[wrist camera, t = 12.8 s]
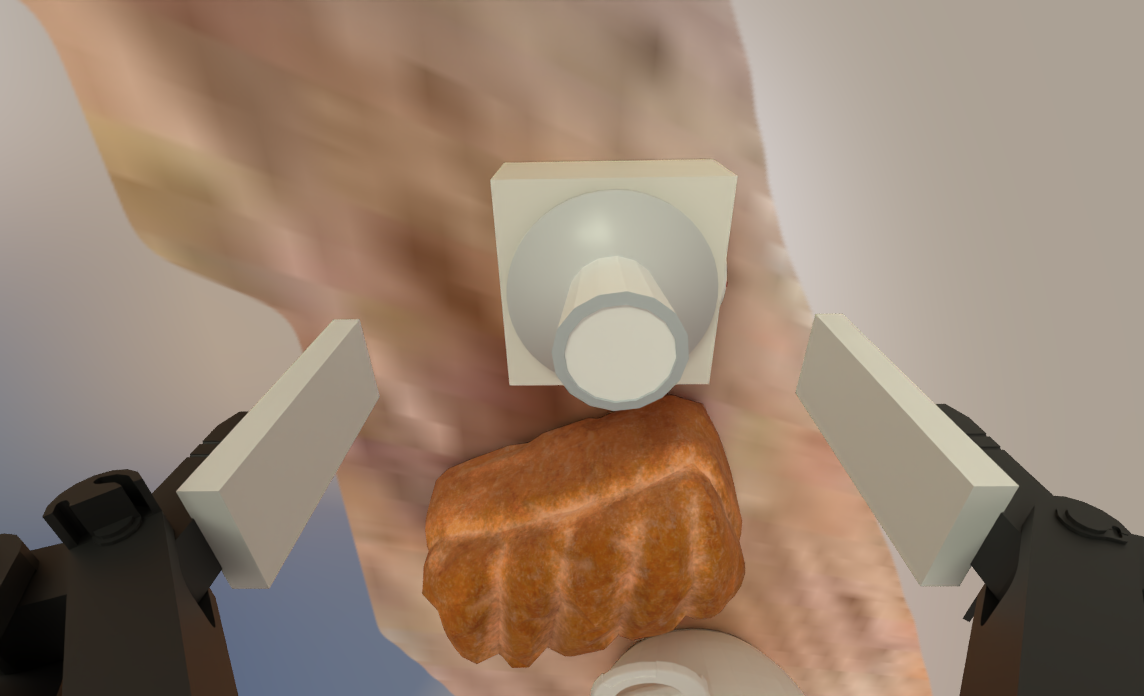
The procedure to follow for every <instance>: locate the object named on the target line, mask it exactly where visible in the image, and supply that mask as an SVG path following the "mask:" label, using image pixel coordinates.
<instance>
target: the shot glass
mask: <svg viewBox="0 0 1144 696" xmlns="http://www.w3.org/2000/svg"><path fill="white" fill-rule="evenodd" d="M551 352H552V357H553V363H554V368H555V373H556V375H557V377H558V378H559V379H560V381H561V382H562V384H563V385H564V386H565V388H566V389H567V390H568V392H569V393H570V394H572V395H573V396H575V397H576V398H578V399H580V400H581V401H583V402H584V403H586V404H588V405H589V406H593V407H598V408H602V409H607V410H612V411H619V410H628V409H637V408H641V407H643V406H645V405H648V404H650V403H652V402H654V401H656V400H658V399H660V398H662V397H664V396H665V395H666V394H667V393H668V392H669V391H670V390H671V389H672V388H673V387H674V386H675V385H676V384H677V383H678V382H679V381H680V379H681V376H682V374H683V371H684V369H685V367H686V364H687V362H688V360H689V348H688V334H687V332H686V331H685V329H684V327H683V325H682V323H681V322H680V320H679V318H678V316H677V314H676V313H675V311H674V310H673V308H672V306H671V305H670V303H669V302H668V300H667V299H666V297H665V295H664V294H663V292H662V291H661V289H660V287H659V286H658V284H657V283H656V281H655V280H654V278H653V276H652V275H651V273H650V272H649V270H647V269H646V268H645V267H643V266H642V265H640V264H639V263H638V262H636V261H635V260H632V259H628V258H624V257H620V256H612V257H605V258H598V259H597V260H595V261H593V262H591V263H589V264H588V265H586V266H584V267H582V269H581V270H580V271H579V272H578V274H577V275H576V276H575V278H574V279H573V280H572V282H571V285H570V288H569V292H568V295H567V298H566V302H565V305H564V308H563V312H562V315H561V318H560V322H559V325H558V328H557V332H556V336H555V340H554V344H553V348H552V351H551Z"/></svg>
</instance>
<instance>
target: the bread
mask: <svg viewBox="0 0 1144 696" xmlns="http://www.w3.org/2000/svg"><path fill="white" fill-rule="evenodd" d="M741 528H742V518H741V514H740V510H739V506H738V501H737V497H736V492H735V488H734V483H733V479H732V474H731V471H730V468H729V464H728V461H727V458H726V455H725V452H724V449H723V446H722V443H721V441H720V438H719V435H718V433H717V431H716V429H715V427H714V425H713V423H712V421H711V419H710V417H709V415H708V414H707V412H706V410H705V408H704V406H703V404H701V403H697V402H694V401H690V400H686V399H683V398H680V397H677V396H674V395H665V396H664V397H662V398H660V399H658V400H656V401H654V402H652V403H650V404H648V405H645V406H643V407H641V408H637V409H628V410H619V411H615V412H612V413H610V414H608V415H606V416H604V417H601V418H599V419H594V418H587V419H584V420H581V421H578V422H575V423H572V424H569V425H566V426H563V427H560V428H557V429H554V430H551V431H548V432H545V433H543V434H541V435H540V436H538V437H537V438H535V439H534V440H532V441H531V442H529V443H525V444H517V445H510V446H506V447H504V448H501V449H498V450H496V451H493V452H490V453H487V454H485V455H482V456H479V457H476V458H474V459H471V460H468V461H466V462H463V463H461V464H459V465H456V466H454V467H451V468H449V469H448V470H447V471H446V472H444V473H443V474H442V475H441V476H440V477H439V478H438V479H437V480H436V483H435V487H434V490H433V494H432V497H431V501H430V504H429V508H428V512H427V517H426V527H425V532H426V540H427V547H428V550H429V552H428V555H427V558H426V561H425V564H424V573H423V590H422V594H423V595H424V596H425V597H426V598H427V600H428V601H429V602H430V603H431V604H432V605H433V606H434V607H435V608H436V609H437V610H438V612H439V615H440V618H441V621H442V625H443V628H444V630H445V632H446V635H447V637H448V638H449V640H450V641H451V643H452V644H453V646H454V648H455V649H456V650H457V651H458V652H459V654H460V655H461V656H462V657H464V658H466V659H468V660H470V661H472V662H474V663H476V664H478V663H480V662H482V661H484V660H486V659H488V658H490V657H492V656H494V655H496V654H500V655H501V656H502V657H503V658H504V659H505V660H506V661H507V662H508V664H509V665H510V666H511V667H512V668H521V667H529V666H530V665H531V664H532V663H533V662H534V661H535V660H536V659H537V658H538V657H539V656H540V654H541V653H542V652H543V651H544V650H545V649H546V648H547V647H548V648H550V649H552V650H554V651H556V652H558V653H560V654H562V655H564V656H576V655H581V654H585V653H590V652H595V651H599V650H604V649H605V648H606V647H607V646H608V645H609V644H610V643H611V642H612V641H613V640H614V639H615V638H616V637H617V636H618V635H620V636H622V637H625V638H628V639H630V640H635V639H639V638H645V637H652V636H657V635H661V634H665V633H668V632H670V631H673V630H674V629H675V627H676V626H677V625H678V624H679V623H680V621H681V620H682V619H683V618H684V617H685V615H686V616H689V617H691V618H694V619H703V618H712V617H713V616H715V615H717V614H718V613H720V612H721V611H722V609H723V608H724V607H725V605H726V604H727V603H728V602H729V600H731V599H732V598H733V597H734V596H735V594H736V593H737V591H738V590H739V588H740V587H741V584H742V581H743V578H744V575H745V562H744V558H743V554H742V550H741V546H740V542H739V540H740V536H741Z"/></svg>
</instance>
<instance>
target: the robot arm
mask: <svg viewBox="0 0 1144 696" xmlns="http://www.w3.org/2000/svg"><path fill="white" fill-rule="evenodd" d="M795 393H796V394H797V396H798V398H799V399H800V401H801V402H802V404H803V405H804V407H805V408H806V410H807V412H808V413H809V415H810V416H811V418H812V419H813V421H814V422H815V424H816V425H817V427H818V429H819V430H820V432H821V433H822V435H823V436H824V438H825V439H826V441H827V442H828V444H829V446H830V447H831V449H832V450H833V452H834V453H835V455H836V456H837V458H838V459H839V461H840V463H841V464H842V466H843V467H844V469H845V470H846V472H847V473H848V475H849V477H850V478H851V480H852V481H853V483H854V484H855V486H856V487H857V489H858V490H859V492H860V494H861V495H862V497H863V498H864V500H865V501H866V503H867V504H868V506H869V507H870V509H871V511H872V512H873V514H874V515H875V517H876V518H877V520H878V521H879V523H880V524H881V526H882V528H883V529H884V531H885V532H886V534H887V535H888V537H889V538H890V540H891V541H892V543H893V544H894V546H895V548H896V549H897V551H898V552H899V554H900V555H901V557H902V558H903V560H904V562H905V563H906V565H907V566H908V568H909V569H910V571H911V572H912V574H913V576H914V577H915V579H916V580H917V582H918V583H919V585H920V586H960V584H961V583H962V581H963V579H964V577H965V576H966V574H967V573H968V571H969V569H970V568H971V566H972V567H973V568H974V570H975V571H976V572H977V573H978V575H979V576H980V577H981V579H982V580H983V581H984V583H985V584H984V586H983V587H982V589H981V590H980V592H979V594H978V595H977V597H976V598H975V600H974V602H973V603H972V605H971V606H970V608H969V609H968V611H967V612H966V614H965V616H964V618H963V619H965V620H967V621H969V622H970V621H971V619H972V618H973V616H974V619H973V624H972V630H971V635H970V640H969V646H968V652H967V658H966V663H965V668H964V674H963V679H962V685H961V690H960V696H1144V537H1143V536H1138V535H1134V534H1131V533H1130V532H1129V531H1128V530H1127V529H1126V528H1125V527H1124V526H1123V525H1122V524H1121V523H1120V522H1119V521H1117V520H1116V519H1114V518H1113V517H1111V516H1110V515H1108V514H1107V513H1105V512H1104V511H1102V510H1100V509H1098V508H1096V507H1093V506H1091V505H1089V504H1087V503H1085V502H1082V501H1079V500H1075V499H1071V498H1068V497H1063V496H1062V497H1061V496H1053V495H1052V494H1051V493H1050V492H1049V491H1048V490H1047V489H1045V487H1043V486H1042V485H1041V484H1040V483H1039V482H1038V481H1037V480H1036V479H1035V478H1034V477H1033V476H1032V475H1030V474H1029V473H1028V472H1027V471H1026V470H1025V469H1024V468H1023V467H1022V466H1020V464H1019V463H1018V462H1016V461H1015V460H1014V459H1013V458H1012V457H1011V456H1010V455H1009V454H1008V453H1007V452H1006V451H1005V450H1001V449H1000V446H999V445H998V444H997V443H996V442H995V441H994V440H993V439H992V438H991V437H987V436H986V433H985V432H984V431H983V430H982V429H981V428H979V426H978V425H977V424H975V423H974V422H973V421H972V420H971V419H970V418H969V417H967V416H965V415H964V414H962V413H960V412H958V411H957V410H955V409H953V408H951V407H950V406H948V405H946V404H935V403H933V402H932V401H931V400H930V399H929V398H928V397H927V396H926V395H925V394H924V393H923V392H922V391H921V390H920V389H919V388H918V387H917V386H916V385H915V384H914V383H913V382H912V381H911V380H910V379H909V378H908V377H907V376H906V375H905V374H904V373H903V372H901V370H900V369H898V367H896V365H895V364H894V363H892V362H891V361H890V360H889V359H888V358H887V357H886V356H885V355H884V354H883V353H882V352H881V351H880V350H879V349H878V348H877V347H876V346H875V345H874V344H873V343H872V342H871V341H870V340H869V339H868V338H867V337H866V336H865V335H864V334H863V333H862V332H861V331H860V330H859V329H858V328H857V327H856V326H855V325H853V324H852V323H851V322H850V321H849V320H848V319H847V318H846V317H845V316H844V315H843V314H815V318H814V321H813V325H812V329H811V333H810V337H809V341H808V345H807V349H806V353H805V357H804V361H803V365H802V369H801V373H800V377H799V381H798V385H797V388H796V392H795ZM379 397H380V396H379V392H378V388H377V384H376V381H375V377H374V373H373V369H372V365H371V361H370V357H369V354H368V350H367V346H366V342H365V338H364V334H363V330H362V327H361V323H360V319H341V320H333V321H332V322H331V323H330V324H329V325H328V326H327V327H326V328H325V329H324V330H323V332H322V333H321V334H320V335H319V336H318V337H317V338H316V339H315V340H314V341H313V342H312V343H311V345H310V346H309V347H308V348H307V349H306V350H305V351H304V352H303V353H302V354H301V356H300V357H299V358H298V359H297V360H296V361H295V362H294V363H293V364H292V365H291V367H289V369H288V370H287V371H286V372H285V373H284V374H283V375H282V376H281V377H280V378H279V379H278V381H277V382H276V383H275V384H274V385H273V386H272V387H271V388H270V390H268V392H267V393H266V394H265V395H264V396H263V397H262V398H261V399H260V400H259V401H258V402H257V404H256V405H255V406H254V407H253V408H252V409H251V410H250V411H249V412H238V413H237V414H235V415H234V416H232V417H231V418H229V419H227V420H226V421H224V422H222V423H221V424H219V425H218V426H217V427H216V428H215V429H214V430H213V431H212V432H211V433H210V434H209V435H208V436H207V437H206V438H205V439H204V441H203V444H199V446H198V447H197V448H196V449H195V450H194V451H193V452H192V453H191V454H190V457H187V458H186V459H185V460H184V461H183V462H182V463H181V464H180V465H179V466H178V467H177V468H176V469H175V470H174V471H173V472H172V473H171V474H170V476H168V478H167V479H166V480H165V481H164V482H163V483H162V484H161V485H160V486H159V487H158V488H157V489H156V490H155V491H154V492H153V493H151V492H150V490H149V489H148V487H147V485H146V484H145V482H144V481H143V479H142V477H141V476H140V474H139V473H138V472H136V471H132V470H128V469H125V470H112V471H109V472H105V473H102V474H98V475H95V476H92V477H90V478H88V479H86V480H84V481H81V482H79V483H77V484H75V485H73V486H72V487H70V488H69V489H67V490H66V491H64V492H63V493H61V494H60V495H58V496H57V497H56V498H55V499H54V500H53V501H52V502H51V503H50V504H49V505H48V506H47V508H46V510H45V512H44V515H43V518H44V519H45V521H46V522H47V523H48V524H49V526H50V527H51V528H52V529H53V531H54V532H55V533H56V534H57V536H58V537H59V538H60V539H61V541H62V542H63V543H61V544H57V545H53V546H48V547H44V548H40V549H36V550H31V551H30V550H29V549H28V548H27V547H26V545H25V544H24V543H23V542H22V541H21V540H20V538H19V537H18V536H17V535H12V534H0V696H238V692H237V689H236V684H235V680H234V675H233V671H232V667H231V663H230V658H229V654H228V650H227V645H226V641H225V636H224V632H223V628H222V624H221V620H220V615H219V611H218V606H217V603H216V598H215V596H214V594H213V593H212V591H211V589H210V588H209V587H210V586H211V584H212V583H213V581H214V580H215V579H216V577H217V576H218V574H219V573H220V571H221V570H222V572H223V574H224V576H225V577H226V579H227V581H228V583H229V584H230V586H231V588H232V589H244V588H245V589H252V588H254V589H256V588H258V589H262V588H263V589H266V588H268V589H269V588H270V586H271V584H272V583H273V581H274V579H275V577H276V576H277V574H278V572H279V570H280V569H281V567H282V565H283V564H284V562H285V560H286V558H287V557H288V555H289V553H290V551H291V550H292V548H293V546H294V545H295V543H296V541H297V539H298V537H299V536H300V534H301V532H302V531H303V529H304V527H305V525H306V524H307V522H308V520H309V519H310V517H311V515H312V513H313V511H314V510H315V508H316V506H317V505H318V503H319V501H320V499H321V498H322V496H323V494H324V492H325V491H326V489H327V487H328V485H329V484H330V482H331V480H332V479H333V477H334V475H335V473H336V472H337V470H338V468H339V466H340V465H341V463H342V461H343V459H344V458H345V456H346V454H347V453H348V451H349V449H350V447H351V446H352V444H353V442H354V440H355V439H356V437H357V435H358V433H359V432H360V430H361V428H362V426H363V425H364V423H365V421H366V419H367V418H368V416H369V414H370V413H371V411H372V409H373V407H374V406H375V404H376V402H377V400H378V399H379Z"/></svg>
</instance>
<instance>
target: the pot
mask: <svg viewBox="0 0 1144 696" xmlns="http://www.w3.org/2000/svg"><path fill="white" fill-rule="evenodd" d="M591 696H806V695H805V694H804V693H803V692H802V691H801V689H800V688H799V687H798V686H797V685H796V683H795V682H794V681H793V680H792V679H791V678H790V676H789V675H788V674H787V673H786V672H785V671H784V670H783V669H782V668H781V667H780V666H779V665H777V664H776V663H775V662H774V661H772V660H771V659H770V658H769V657H767V656H766V655H765V654H763V653H762V652H761V651H760V650H758V649H757V648H755V647H753V646H752V645H750V644H748V643H746V642H744V641H742V640H740V639H738V638H736V637H734V636H732V635H730V634H726V633H723V632H720V631H714V630H708V629H680V630H673V631H670V632H668V633H665V634H661V635H657V636H652V637H648V638H646V639H644V640H642V641H640V642H638V643H637V644H635V645H634V646H633V647H631V648H630V649H629V650H628V651H627V652H626V653H624V654H623V655H622V657H621V658H620V659H619V660H618V661H617V662H616V663H615V664H614V665H613V667H612V668H611V669H610V670H609V671H608V672H607V673H605V674H604V673H602V674H601V675H600V676H599V677H598V678H597V679H596V680H595V681H594V684H593V686H592V688H591Z"/></svg>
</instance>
